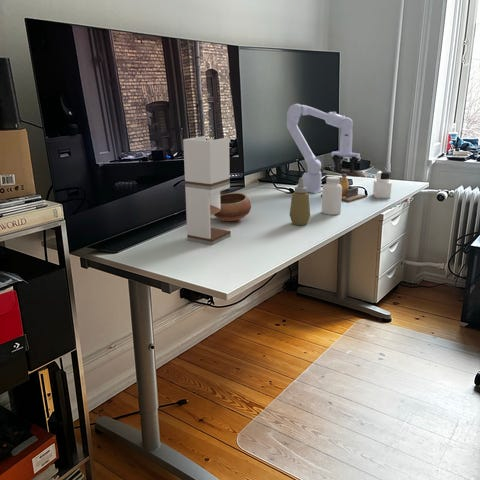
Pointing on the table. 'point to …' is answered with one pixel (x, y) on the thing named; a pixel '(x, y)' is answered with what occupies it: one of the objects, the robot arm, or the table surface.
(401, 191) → the table surface
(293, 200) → the squeeze bottle
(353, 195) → the bottle rest
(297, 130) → the robot arm
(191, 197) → the white tower
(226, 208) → the bowl
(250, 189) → the table surface
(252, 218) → the table surface
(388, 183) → the medicine bottle
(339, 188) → the pill bottle
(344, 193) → the amber bottle
